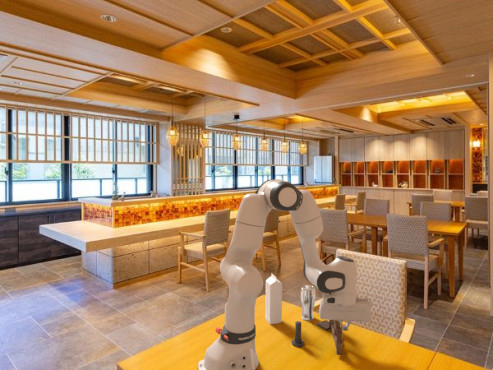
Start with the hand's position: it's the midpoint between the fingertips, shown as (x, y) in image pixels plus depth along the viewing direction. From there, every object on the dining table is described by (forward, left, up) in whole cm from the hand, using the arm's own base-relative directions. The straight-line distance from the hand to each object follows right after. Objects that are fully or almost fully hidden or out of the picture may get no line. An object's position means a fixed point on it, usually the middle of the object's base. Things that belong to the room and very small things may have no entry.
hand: (344, 330), depth 134 cm
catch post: (-15, +12, -7) cm, 20 cm away
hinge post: (+6, +16, -7) cm, 18 cm away
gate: (-1, +3, -6) cm, 7 cm away
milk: (-12, +33, -7) cm, 36 cm away
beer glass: (+4, +27, -7) cm, 28 cm away
